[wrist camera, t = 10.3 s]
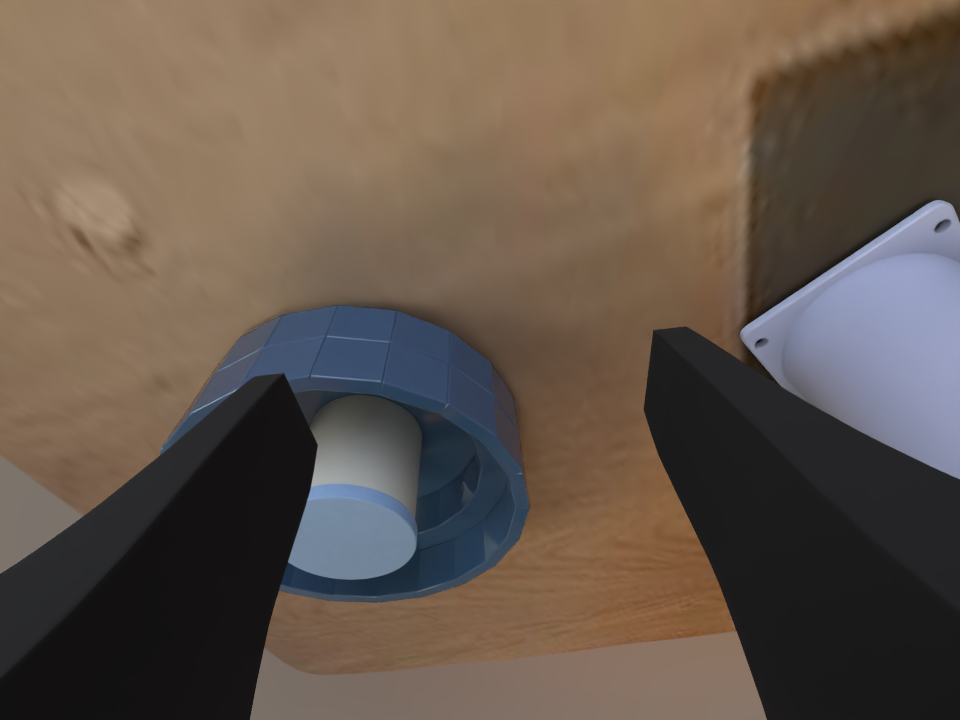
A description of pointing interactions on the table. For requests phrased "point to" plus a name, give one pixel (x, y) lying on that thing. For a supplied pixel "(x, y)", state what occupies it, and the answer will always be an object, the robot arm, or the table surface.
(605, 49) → the table surface
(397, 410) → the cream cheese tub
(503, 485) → the bowl
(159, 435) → the table surface
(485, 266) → the table surface
